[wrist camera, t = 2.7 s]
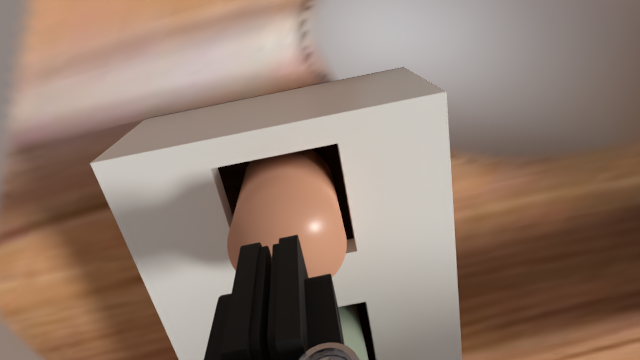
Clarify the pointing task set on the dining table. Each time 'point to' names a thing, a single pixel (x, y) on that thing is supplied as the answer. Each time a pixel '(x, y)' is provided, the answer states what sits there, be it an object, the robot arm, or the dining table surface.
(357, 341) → the sage button
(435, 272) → the console
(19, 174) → the dining table surface
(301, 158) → the terracotta button
